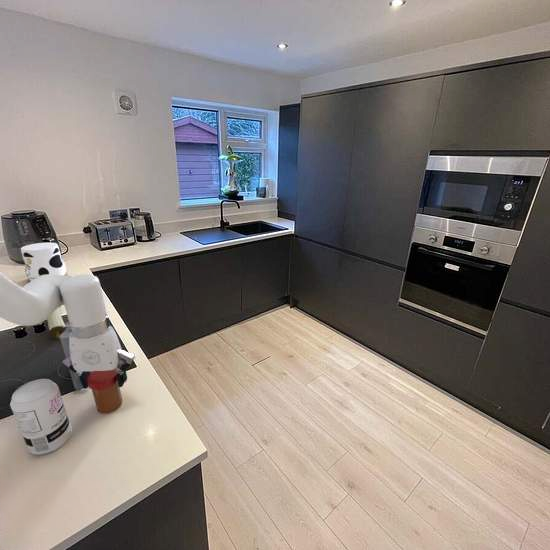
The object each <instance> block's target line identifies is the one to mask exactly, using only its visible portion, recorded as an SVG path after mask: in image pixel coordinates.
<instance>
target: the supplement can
mask: <svg viewBox="0 0 550 550" xmlns="http://www.w3.org/2000/svg"><path fill="white" fill-rule="evenodd" d="M9 403H10V404H9V407H10V409H11V411H12V414H13V416H14V418H15V421H16V423H17V425H18V428H19V430H20V434H21V436H22V438H23V440H24V442H25V445H26V448H27V450H28V452H29V453H30V454H33V455H45V454H48V453H51V452H53V451H55V450H57V449H58V448H60V447H62V446H63V445H64V444H65V442H66V441H67V440H68V439H69V438H70V436H71V434H72V430H73V429H72V428H73V427H72V424H71V421H70V419H69V416H68V412H67V409H66V407H65V404H64V400H63V397H62V394H61V391H60V388H59V386H58V384H57V383H55V382H54V381H53V380H52V379H49V378H39V379H34V380H32V381H28V382H26V383H25V384H23V385H21V386H19V387H18V388H17V389H16V390H15V391H14V392H13V393H12V396H11V399H10V402H9Z"/></svg>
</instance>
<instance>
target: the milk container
mask: <svg viewBox="0 0 550 550" xmlns="http://www.w3.org/2000/svg"><path fill="white" fill-rule="evenodd" d="M20 252H21V255H22V260H23V263H24V268H25V269H24V273H25V276H26V278H27V279H28V280H29V282H31V281H32V280H33V279H35V278H36V277H38V276H41V275H47V274H53V275H64V276H66V274H67V266H66V264H65V262H64V260H63V258H62V255H61V251H60V248H59V245H58V243H57V242H37V243H31V244H26V245H24V246H21V248H20Z"/></svg>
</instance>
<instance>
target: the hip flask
mask: <svg viewBox="0 0 550 550" xmlns="http://www.w3.org/2000/svg"><path fill="white" fill-rule="evenodd" d="M65 329H66V330H65V331H64V332H63V333H62V334H61V335H60V336H59V337H60V339H59V340H60V343H61V346H62V350H63V353H64V356H65V357H64V358H66V357H68V356H69V355H70V348H69V335H70V334H71V333H72V331H71V328H65ZM68 370H69V373H70V377H71V381H72V384H73V387H74V389H75V390H76V391H80V390H81V391H82V390H84V389H83V386H82V384H81V381H80V377H79V376H76V373H75V372H73V371H72V370H70V369H69V368H68ZM92 372H93V371H90V373H92Z"/></svg>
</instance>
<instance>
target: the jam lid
mask: <svg viewBox="0 0 550 550" xmlns="http://www.w3.org/2000/svg"><path fill="white" fill-rule="evenodd" d="M116 375H117V372H116V371H115V370H114V369H113V370H108V371H93V372H92V373H91V374H90V375H89V376H88V378H87V381H88V388H89V389H90V390H91V391H92V390H103V389H106V388H109V387H111V386H112V385H114V384H115V383H116V382H117V377H116Z"/></svg>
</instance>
